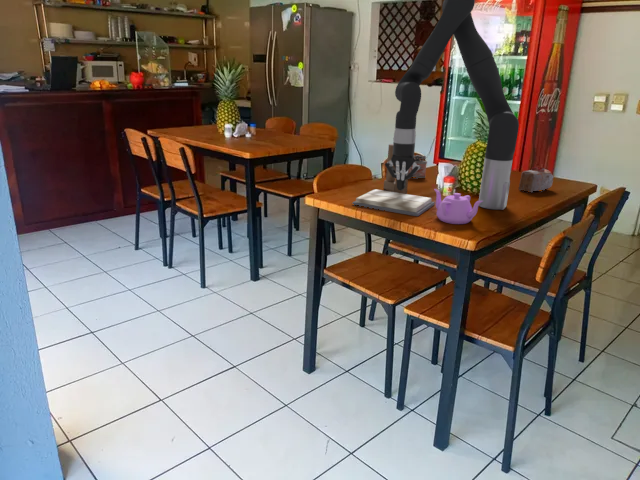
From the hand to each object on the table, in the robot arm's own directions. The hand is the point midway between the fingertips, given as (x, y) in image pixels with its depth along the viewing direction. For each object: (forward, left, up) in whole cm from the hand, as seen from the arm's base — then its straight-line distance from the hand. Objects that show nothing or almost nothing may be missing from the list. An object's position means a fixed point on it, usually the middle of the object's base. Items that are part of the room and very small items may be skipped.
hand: (400, 189), depth 180 cm
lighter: (+9, -45, -5) cm, 46 cm away
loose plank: (0, +1, -4) cm, 4 cm away
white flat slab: (0, +9, -5) cm, 10 cm away
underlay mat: (0, +5, -5) cm, 7 cm away
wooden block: (+7, -14, -5) cm, 17 cm away
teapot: (-23, +11, -5) cm, 26 cm away
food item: (-39, -52, -5) cm, 65 cm away
